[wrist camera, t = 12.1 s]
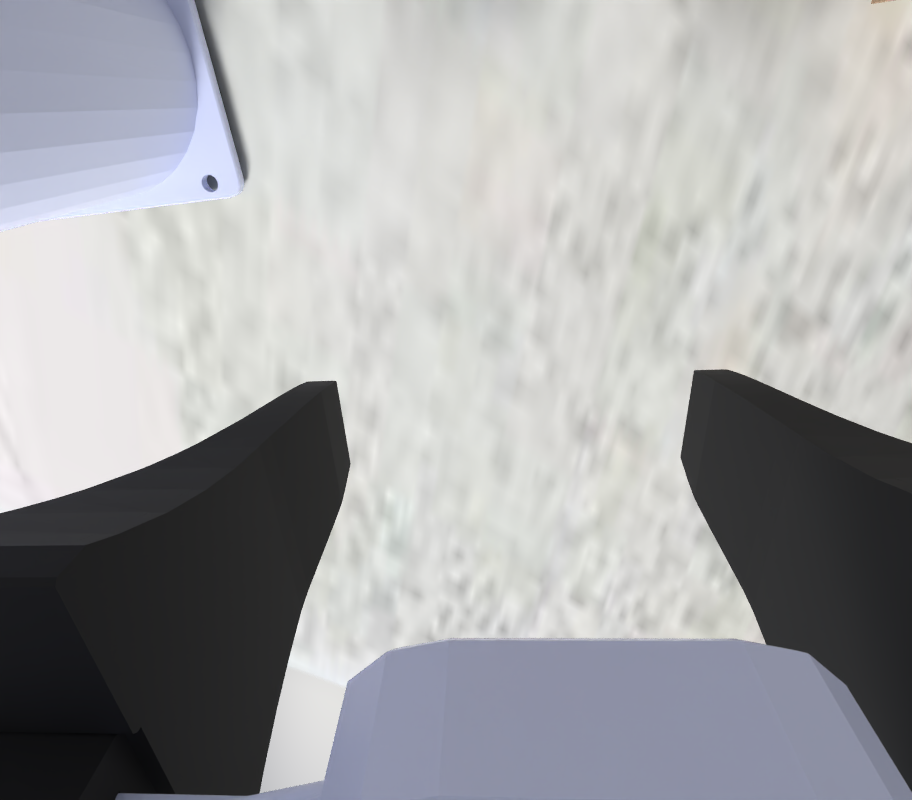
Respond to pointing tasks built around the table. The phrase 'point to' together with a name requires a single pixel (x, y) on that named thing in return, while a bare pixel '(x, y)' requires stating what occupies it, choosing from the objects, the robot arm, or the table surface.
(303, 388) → the robot arm
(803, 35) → the table surface
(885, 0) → the bar
